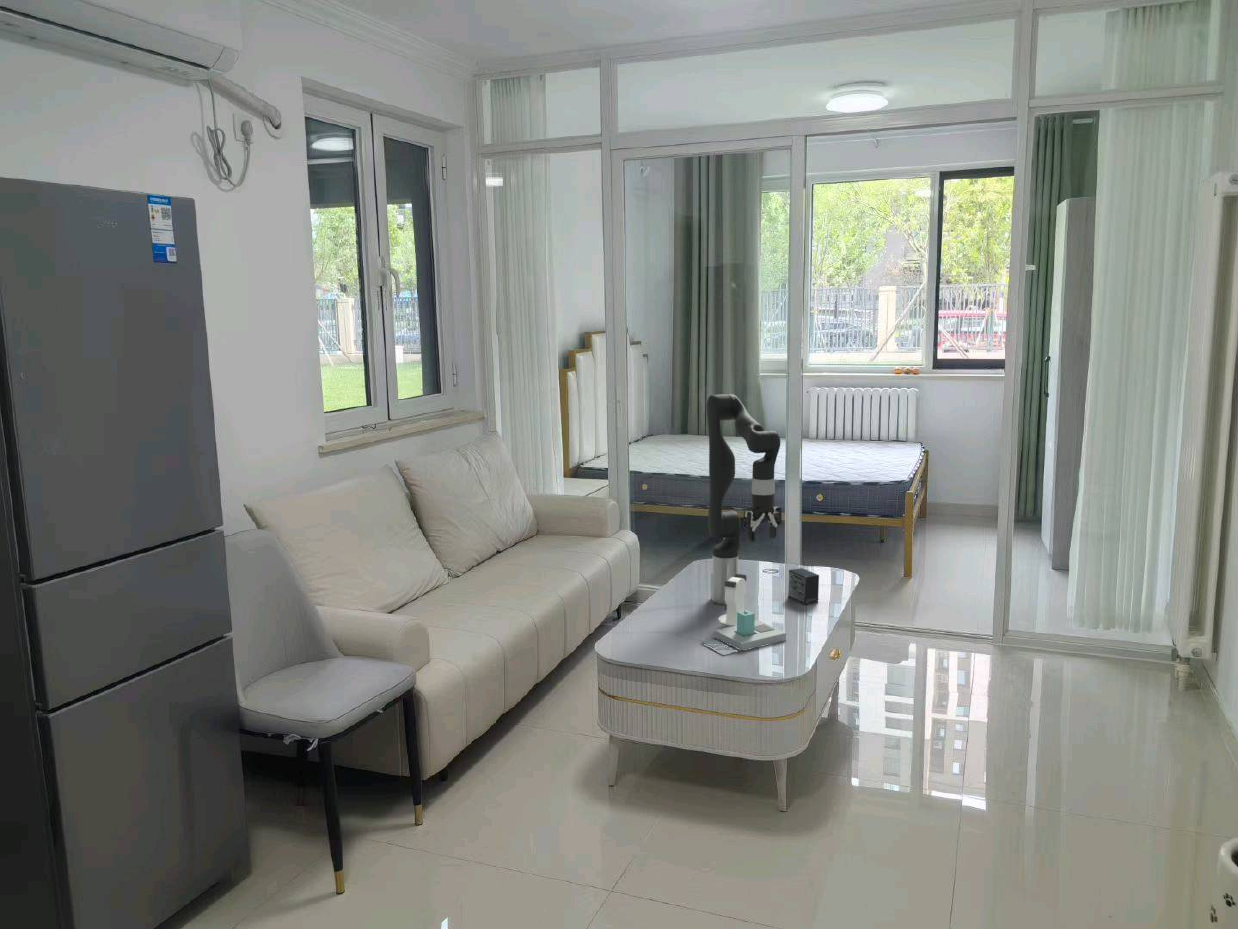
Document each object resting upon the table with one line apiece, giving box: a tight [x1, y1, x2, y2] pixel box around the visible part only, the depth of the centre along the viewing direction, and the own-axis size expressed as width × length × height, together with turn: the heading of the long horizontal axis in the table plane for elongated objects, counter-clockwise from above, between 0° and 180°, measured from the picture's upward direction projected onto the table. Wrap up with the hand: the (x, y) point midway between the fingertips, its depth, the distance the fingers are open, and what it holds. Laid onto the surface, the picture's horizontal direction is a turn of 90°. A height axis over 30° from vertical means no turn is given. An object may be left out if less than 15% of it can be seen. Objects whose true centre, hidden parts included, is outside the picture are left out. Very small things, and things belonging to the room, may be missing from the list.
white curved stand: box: [718, 573, 748, 627], centre depth 318 cm, size 12×11×15 cm
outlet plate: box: [714, 620, 787, 651], centre depth 301 cm, size 14×18×3 cm
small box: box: [787, 567, 820, 606], centre depth 339 cm, size 11×6×10 cm, turn 25°
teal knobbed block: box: [737, 609, 756, 637], centre depth 300 cm, size 4×4×10 cm
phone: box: [700, 638, 736, 650], centre depth 294 cm, size 6×12×1 cm, turn 30°
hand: (762, 539), depth 307 cm, fingers open, 8 cm apart
